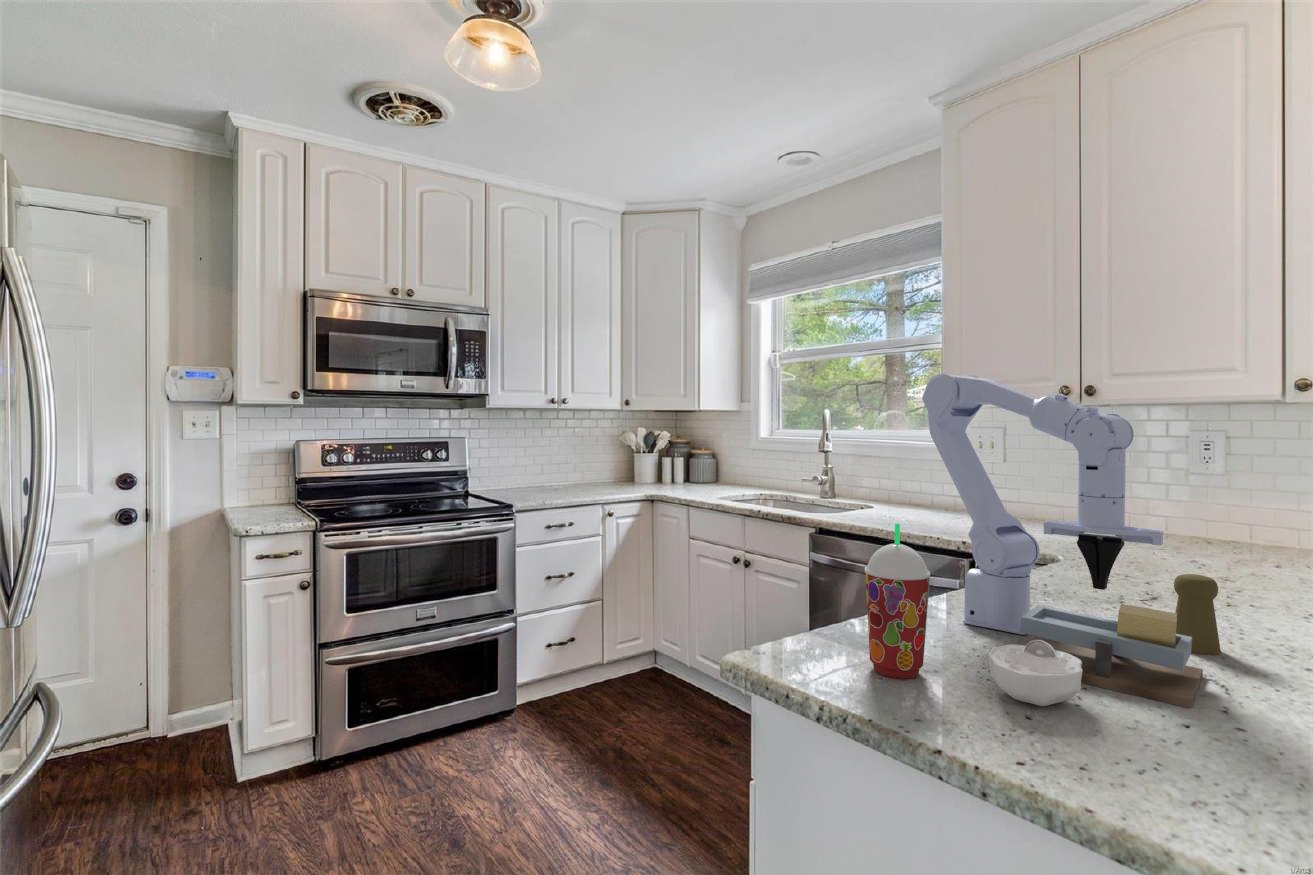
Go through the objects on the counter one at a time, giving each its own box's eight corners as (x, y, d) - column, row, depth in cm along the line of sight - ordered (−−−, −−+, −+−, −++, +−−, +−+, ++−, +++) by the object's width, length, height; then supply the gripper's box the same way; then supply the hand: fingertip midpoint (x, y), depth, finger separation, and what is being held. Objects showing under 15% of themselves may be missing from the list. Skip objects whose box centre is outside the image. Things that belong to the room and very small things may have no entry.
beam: (1019, 632, 93) (1020, 617, 93) (1038, 619, 100) (1039, 604, 99) (1182, 671, 80) (1183, 653, 80) (1191, 653, 87) (1192, 636, 87)
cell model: (968, 698, 81) (968, 642, 81) (1014, 676, 88) (1014, 625, 88) (1058, 728, 73) (1059, 666, 73) (1101, 701, 80) (1101, 645, 80)
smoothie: (927, 664, 92) (928, 521, 92) (931, 686, 84) (933, 530, 84) (864, 657, 95) (865, 518, 94) (862, 678, 87) (863, 526, 87)
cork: (1231, 656, 96) (1232, 580, 96) (1183, 653, 97) (1184, 578, 97) (1205, 643, 102) (1206, 571, 102) (1161, 640, 103) (1162, 570, 103)
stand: (1006, 665, 92) (1006, 626, 92) (1034, 642, 102) (1035, 607, 102) (1190, 708, 78) (1191, 662, 78) (1202, 676, 88) (1203, 636, 88)
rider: (1116, 641, 87) (1118, 611, 87) (1119, 632, 91) (1121, 603, 91) (1174, 653, 83) (1176, 622, 83) (1174, 643, 87) (1176, 613, 87)
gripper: (1038, 494, 100) (1037, 584, 100) (1158, 502, 90) (1157, 602, 90) (1050, 491, 105) (1049, 576, 105) (1165, 498, 95) (1164, 592, 95)
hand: (1100, 588), depth 98 cm, fingers closed
